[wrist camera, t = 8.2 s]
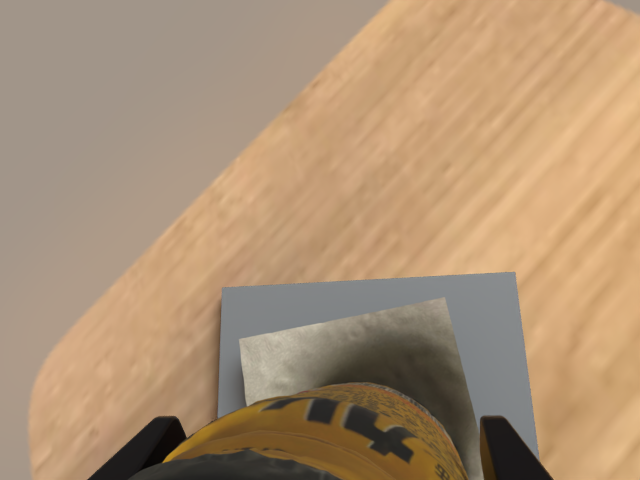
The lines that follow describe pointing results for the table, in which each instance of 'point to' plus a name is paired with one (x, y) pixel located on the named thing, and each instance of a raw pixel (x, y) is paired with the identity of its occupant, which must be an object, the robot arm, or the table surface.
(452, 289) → the coaster board
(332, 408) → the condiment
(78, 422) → the table surface
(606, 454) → the table surface
